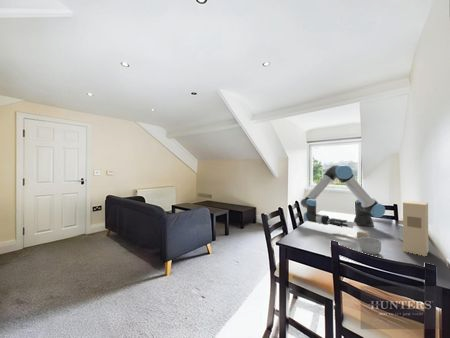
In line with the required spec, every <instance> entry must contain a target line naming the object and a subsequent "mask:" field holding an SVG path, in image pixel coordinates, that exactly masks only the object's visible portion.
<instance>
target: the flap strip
mask: <svg viewBox="0 0 450 338" xmlns="http://www.w3.org/2000/svg"><path fill="white" fill-rule="evenodd" d="M369 234H370V233H369V232H368V233H367V232H363V231H357V232H356V235H352V234H349V233H348V234H347V233H343V232H337V233H336V235H339V236H342V237H347V238H351V239H355V240H359V238H361V237H370V236H369Z"/></svg>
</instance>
